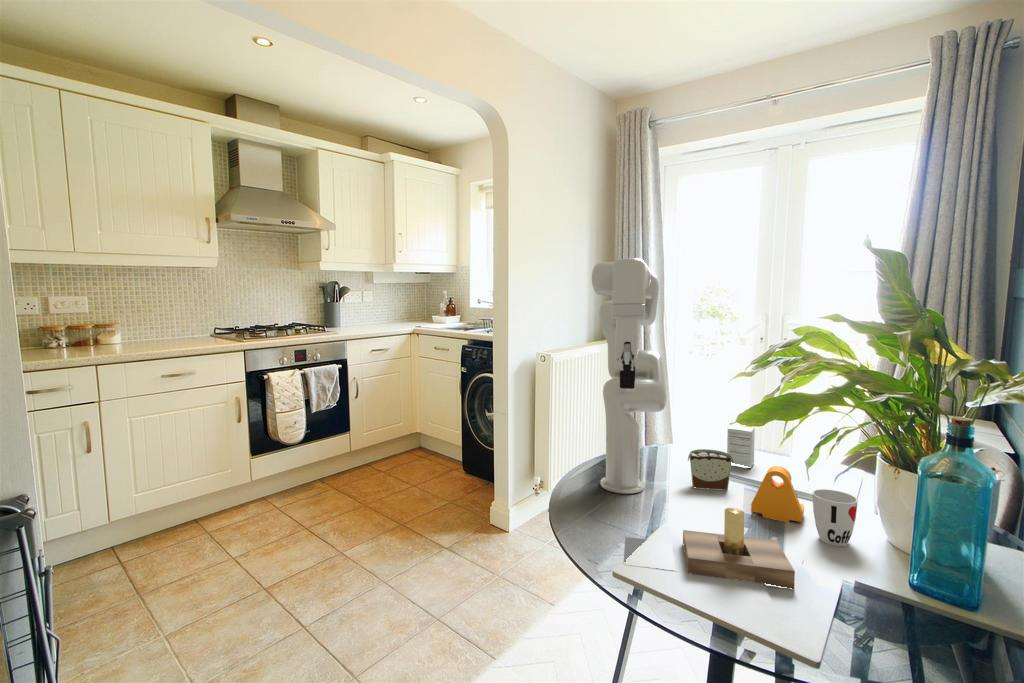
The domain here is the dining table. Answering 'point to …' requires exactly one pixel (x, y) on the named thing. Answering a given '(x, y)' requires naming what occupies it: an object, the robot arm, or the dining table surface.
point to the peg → (734, 531)
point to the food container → (710, 468)
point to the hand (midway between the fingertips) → (627, 385)
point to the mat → (632, 546)
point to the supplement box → (741, 445)
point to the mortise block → (738, 559)
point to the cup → (834, 515)
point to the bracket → (777, 497)
